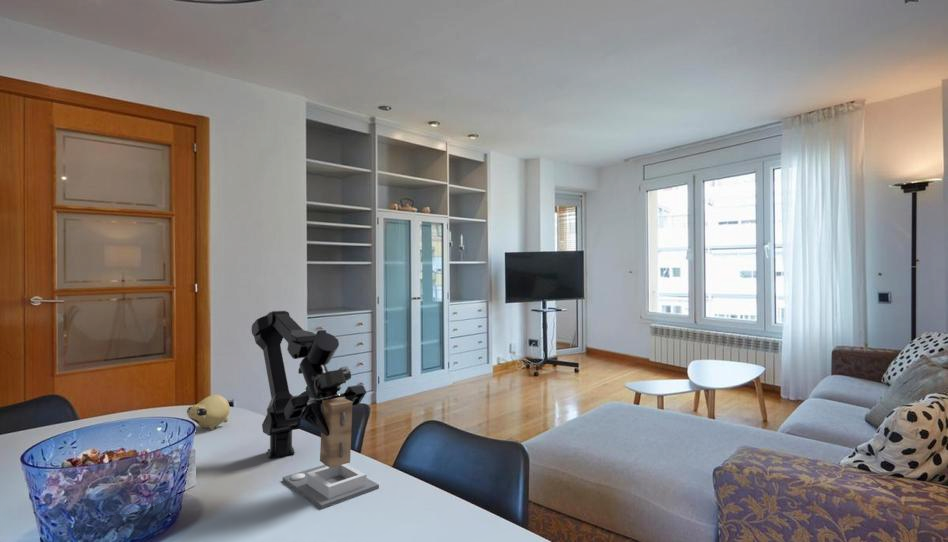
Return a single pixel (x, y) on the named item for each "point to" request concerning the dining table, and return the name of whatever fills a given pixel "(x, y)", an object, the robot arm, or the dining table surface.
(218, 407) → the toy pig
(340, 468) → the grey insertion base
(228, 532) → the dining table surface
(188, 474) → the medicine box
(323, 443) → the tan tall block
